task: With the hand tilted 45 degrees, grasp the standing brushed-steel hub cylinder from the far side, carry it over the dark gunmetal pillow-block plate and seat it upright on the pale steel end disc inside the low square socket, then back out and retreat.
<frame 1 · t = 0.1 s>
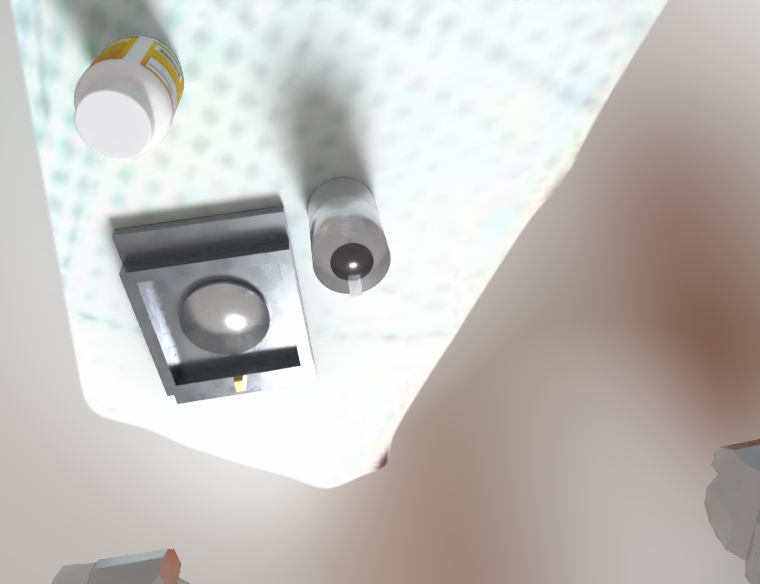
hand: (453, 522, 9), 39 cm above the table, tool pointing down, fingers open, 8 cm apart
supplement bottle: (144, 74, 42), on the table
hub: (341, 208, 49), on the table
shaft seat: (226, 309, 53), on the table
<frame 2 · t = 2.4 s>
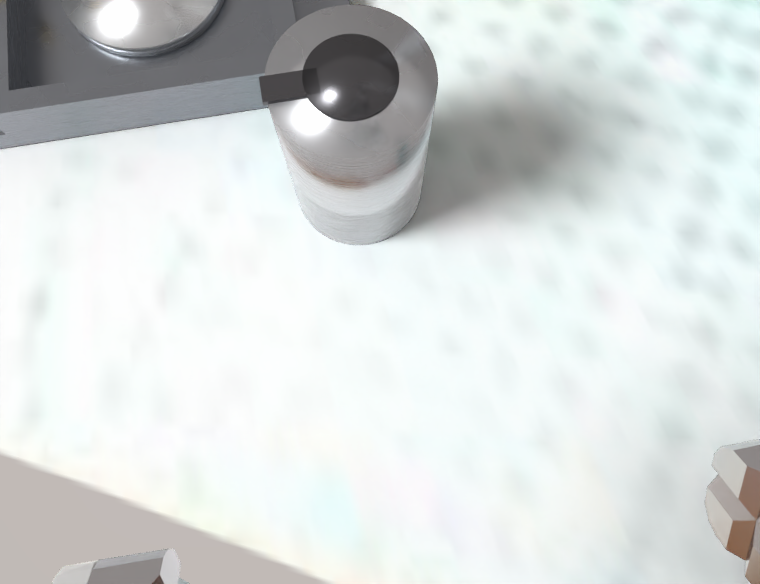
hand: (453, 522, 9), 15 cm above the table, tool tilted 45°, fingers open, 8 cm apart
hub: (359, 186, 27), on the table
shaft seat: (154, 1, 29), on the table
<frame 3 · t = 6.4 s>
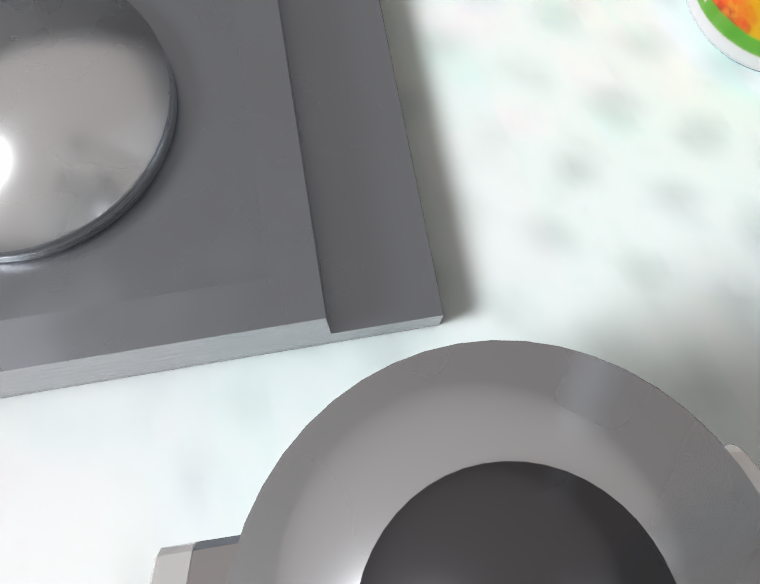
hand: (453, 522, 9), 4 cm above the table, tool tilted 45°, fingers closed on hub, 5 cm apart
hub: (434, 534, 13), on the table, touching gripper
shaft seat: (42, 136, 16), on the table
when the fingers open (7 cm above the table, at t = 12.7 s): hub stays where it is, resting on shaft seat.
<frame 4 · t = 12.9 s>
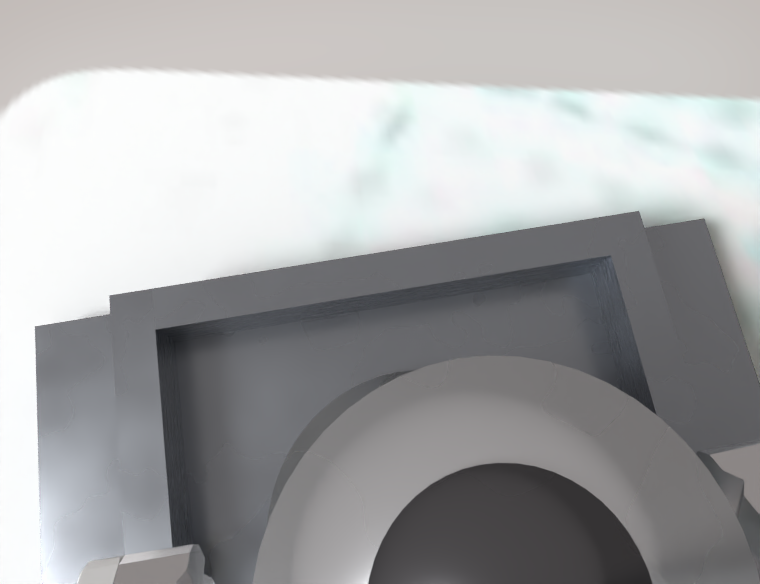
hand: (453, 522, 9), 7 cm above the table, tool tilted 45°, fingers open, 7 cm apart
hub: (433, 531, 14), point 2 cm above the table, touching shaft seat
shaft seat: (423, 524, 16), on the table
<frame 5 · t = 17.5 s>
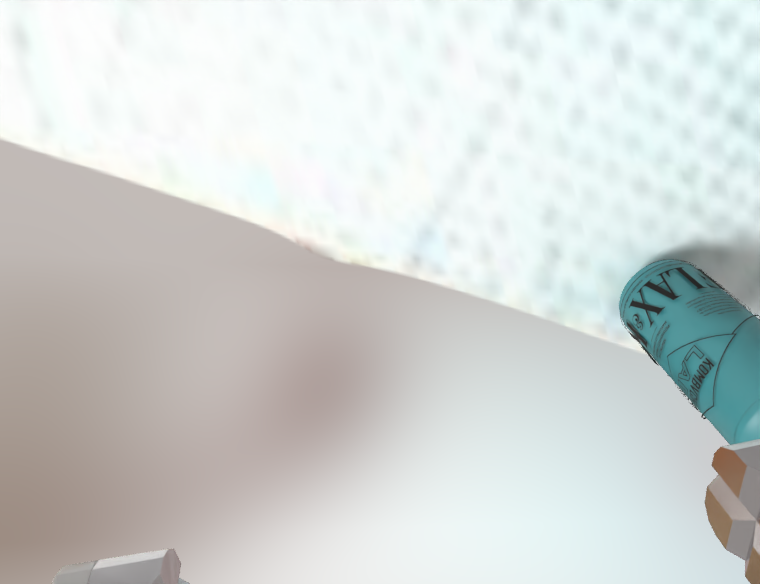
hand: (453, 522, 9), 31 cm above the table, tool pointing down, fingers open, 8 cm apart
beverage bottle: (646, 286, 46), on the table
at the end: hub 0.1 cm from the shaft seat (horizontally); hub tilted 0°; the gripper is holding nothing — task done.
